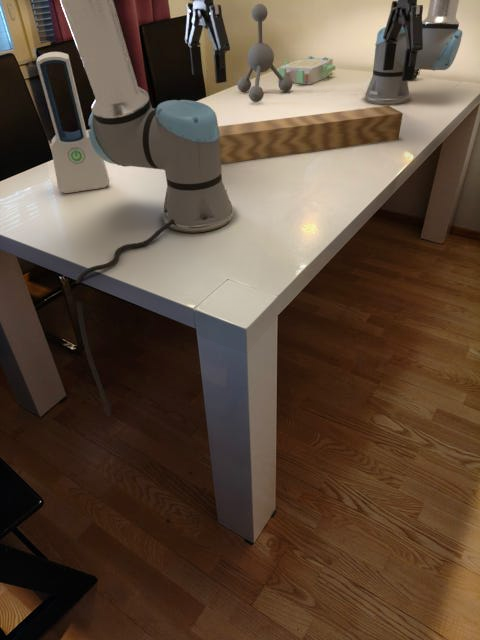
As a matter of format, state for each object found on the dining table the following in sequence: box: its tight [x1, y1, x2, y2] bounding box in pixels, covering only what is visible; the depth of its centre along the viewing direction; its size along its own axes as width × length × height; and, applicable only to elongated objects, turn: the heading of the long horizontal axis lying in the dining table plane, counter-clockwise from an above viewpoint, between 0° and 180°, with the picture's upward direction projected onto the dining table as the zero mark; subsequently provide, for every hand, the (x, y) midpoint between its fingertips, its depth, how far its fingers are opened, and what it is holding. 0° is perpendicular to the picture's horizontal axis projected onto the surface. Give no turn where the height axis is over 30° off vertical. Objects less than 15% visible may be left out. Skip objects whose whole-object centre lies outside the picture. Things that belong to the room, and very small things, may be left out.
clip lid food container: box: [277, 55, 336, 85], centre depth 206 cm, size 26×6×20 cm
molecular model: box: [237, 3, 293, 103], centre depth 180 cm, size 24×22×30 cm
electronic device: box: [35, 51, 110, 194], centre depth 116 cm, size 12×8×30 cm, turn 105°
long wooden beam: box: [218, 105, 404, 165], centre depth 137 cm, size 66×8×7 cm, turn 104°
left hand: (208, 78), depth 128 cm, fingers open, 13 cm apart
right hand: (397, 75), depth 132 cm, fingers open, 13 cm apart
